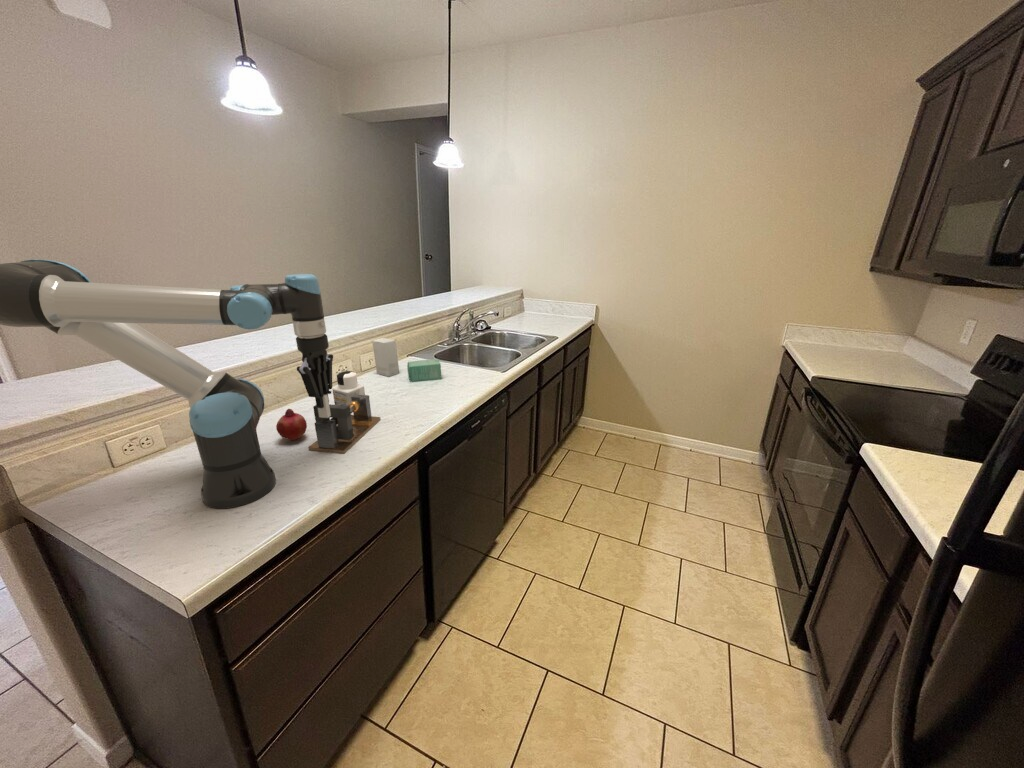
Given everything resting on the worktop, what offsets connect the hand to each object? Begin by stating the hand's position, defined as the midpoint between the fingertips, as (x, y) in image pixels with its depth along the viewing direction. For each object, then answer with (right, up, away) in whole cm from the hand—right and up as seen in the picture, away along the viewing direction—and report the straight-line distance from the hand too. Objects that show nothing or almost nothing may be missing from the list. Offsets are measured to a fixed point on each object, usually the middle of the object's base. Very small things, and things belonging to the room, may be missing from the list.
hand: (325, 416), depth 116 cm
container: (-6, +1, +33) cm, 33 cm away
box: (+15, +11, +63) cm, 65 cm away
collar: (0, -7, +7) cm, 9 cm away
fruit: (-14, -8, +9) cm, 18 cm away
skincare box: (-3, +14, +68) cm, 69 cm away
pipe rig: (+1, -6, +13) cm, 14 cm away
